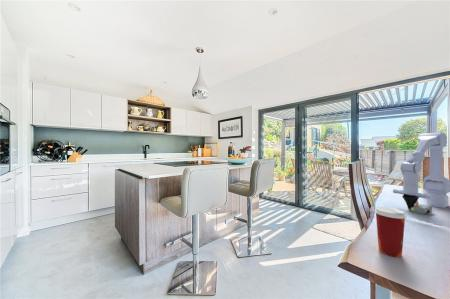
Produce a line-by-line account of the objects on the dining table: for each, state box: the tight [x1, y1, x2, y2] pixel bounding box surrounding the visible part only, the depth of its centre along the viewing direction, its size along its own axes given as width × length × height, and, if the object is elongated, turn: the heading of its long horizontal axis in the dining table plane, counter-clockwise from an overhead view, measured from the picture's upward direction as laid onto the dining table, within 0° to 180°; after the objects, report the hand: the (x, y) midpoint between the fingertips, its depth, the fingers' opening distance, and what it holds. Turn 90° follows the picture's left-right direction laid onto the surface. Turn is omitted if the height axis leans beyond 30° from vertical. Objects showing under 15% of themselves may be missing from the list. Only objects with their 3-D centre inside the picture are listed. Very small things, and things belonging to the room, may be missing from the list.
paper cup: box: [374, 206, 407, 258], centre depth 59 cm, size 8×8×14 cm
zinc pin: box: [410, 207, 434, 216], centre depth 93 cm, size 5×7×3 cm, turn 22°
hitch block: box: [413, 204, 433, 216], centre depth 93 cm, size 8×4×4 cm, turn 112°
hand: (410, 209), depth 98 cm, fingers closed
